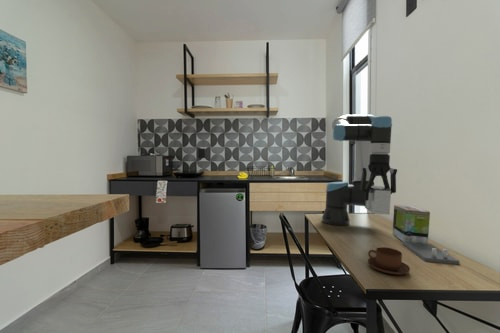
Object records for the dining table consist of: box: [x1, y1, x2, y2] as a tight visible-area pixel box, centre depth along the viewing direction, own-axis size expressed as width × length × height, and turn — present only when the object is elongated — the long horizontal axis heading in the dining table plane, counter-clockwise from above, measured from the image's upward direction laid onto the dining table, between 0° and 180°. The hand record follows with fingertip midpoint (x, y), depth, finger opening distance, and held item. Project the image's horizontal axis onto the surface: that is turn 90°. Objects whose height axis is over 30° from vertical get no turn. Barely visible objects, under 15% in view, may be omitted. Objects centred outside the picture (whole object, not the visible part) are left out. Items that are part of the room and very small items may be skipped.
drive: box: [364, 185, 392, 215], centre depth 108 cm, size 12×6×10 cm, turn 171°
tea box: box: [392, 204, 431, 244], centre depth 119 cm, size 15×10×15 cm
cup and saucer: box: [367, 246, 411, 276], centre depth 83 cm, size 12×12×6 cm
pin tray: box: [402, 236, 460, 265], centre depth 100 cm, size 19×11×4 cm, turn 171°
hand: (376, 208), depth 108 cm, fingers closed on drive, 6 cm apart
